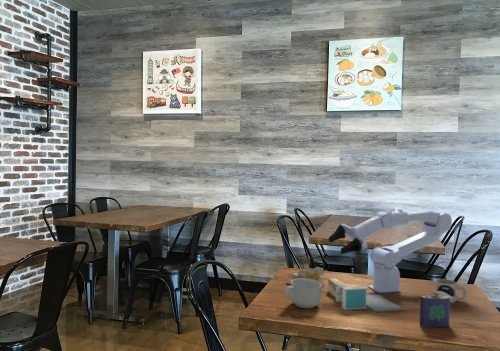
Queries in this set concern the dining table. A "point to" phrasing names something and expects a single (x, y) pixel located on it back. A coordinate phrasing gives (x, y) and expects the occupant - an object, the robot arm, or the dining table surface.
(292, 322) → the dining table surface
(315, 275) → the decorative flower
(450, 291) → the mug
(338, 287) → the pusher
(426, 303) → the flask
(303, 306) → the teacup
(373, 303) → the mat
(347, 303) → the tile
